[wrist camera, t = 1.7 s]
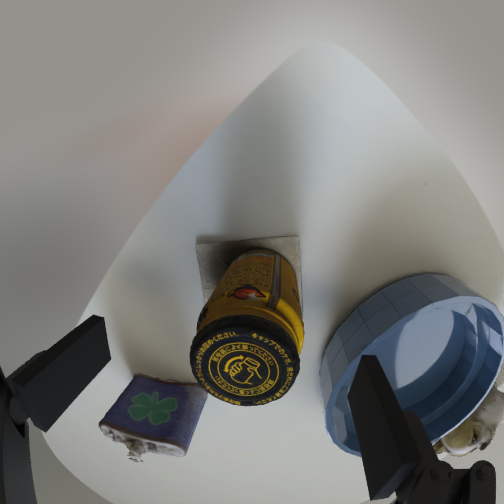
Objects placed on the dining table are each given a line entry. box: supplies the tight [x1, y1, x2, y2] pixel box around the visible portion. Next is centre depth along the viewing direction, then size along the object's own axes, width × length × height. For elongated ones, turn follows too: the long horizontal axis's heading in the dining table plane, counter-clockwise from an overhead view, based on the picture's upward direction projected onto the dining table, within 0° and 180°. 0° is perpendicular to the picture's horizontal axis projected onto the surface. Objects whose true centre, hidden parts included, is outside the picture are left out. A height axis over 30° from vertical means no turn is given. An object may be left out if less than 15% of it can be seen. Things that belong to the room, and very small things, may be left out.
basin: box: [319, 273, 504, 457], centre depth 21 cm, size 19×19×6 cm
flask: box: [99, 374, 207, 462], centre depth 22 cm, size 9×3×11 cm, turn 90°
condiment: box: [190, 236, 304, 406], centre depth 18 cm, size 7×8×12 cm
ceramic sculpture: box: [433, 386, 504, 457], centre depth 21 cm, size 11×9×15 cm
